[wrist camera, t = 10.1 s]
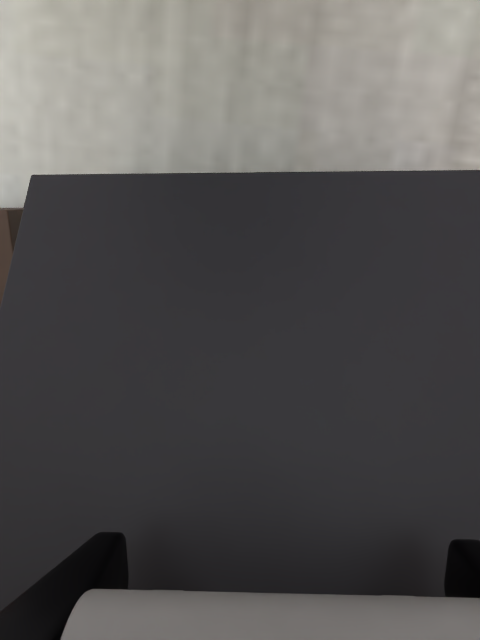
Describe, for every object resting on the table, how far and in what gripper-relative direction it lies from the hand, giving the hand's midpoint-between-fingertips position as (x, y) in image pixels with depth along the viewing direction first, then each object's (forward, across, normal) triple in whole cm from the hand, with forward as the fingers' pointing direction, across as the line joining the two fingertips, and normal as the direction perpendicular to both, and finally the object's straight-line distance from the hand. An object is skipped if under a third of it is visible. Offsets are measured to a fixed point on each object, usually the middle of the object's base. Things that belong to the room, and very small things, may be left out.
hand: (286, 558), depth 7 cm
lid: (+3, 0, -1) cm, 4 cm away
